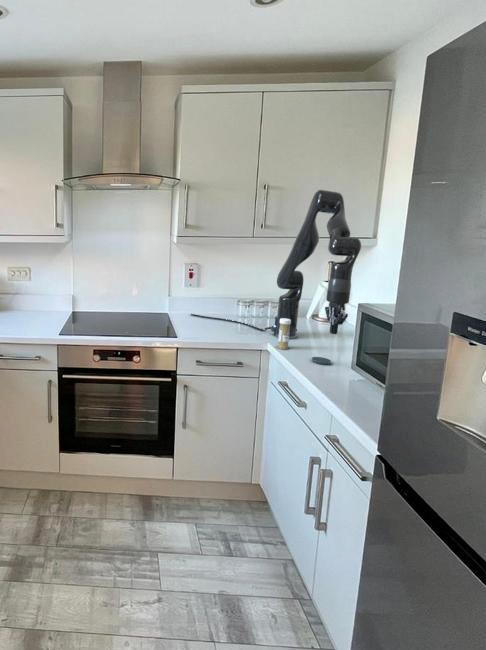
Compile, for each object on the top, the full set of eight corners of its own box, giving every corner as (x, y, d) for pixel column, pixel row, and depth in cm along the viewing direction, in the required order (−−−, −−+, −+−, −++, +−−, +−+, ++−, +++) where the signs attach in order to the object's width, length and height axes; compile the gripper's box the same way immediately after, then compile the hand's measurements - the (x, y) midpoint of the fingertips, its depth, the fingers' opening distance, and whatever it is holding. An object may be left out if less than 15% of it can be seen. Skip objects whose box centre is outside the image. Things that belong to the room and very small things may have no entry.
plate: (308, 361, 172) (308, 358, 171) (316, 358, 176) (316, 355, 175) (325, 366, 166) (326, 363, 166) (333, 363, 170) (334, 360, 170)
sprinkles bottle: (287, 350, 186) (290, 320, 184) (276, 348, 189) (279, 319, 187) (288, 347, 190) (291, 318, 188) (278, 345, 193) (281, 317, 190)
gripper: (320, 286, 166) (315, 328, 169) (337, 292, 153) (331, 338, 155) (339, 287, 165) (334, 329, 168) (358, 293, 152) (352, 339, 155)
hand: (333, 333), depth 162 cm, fingers closed
